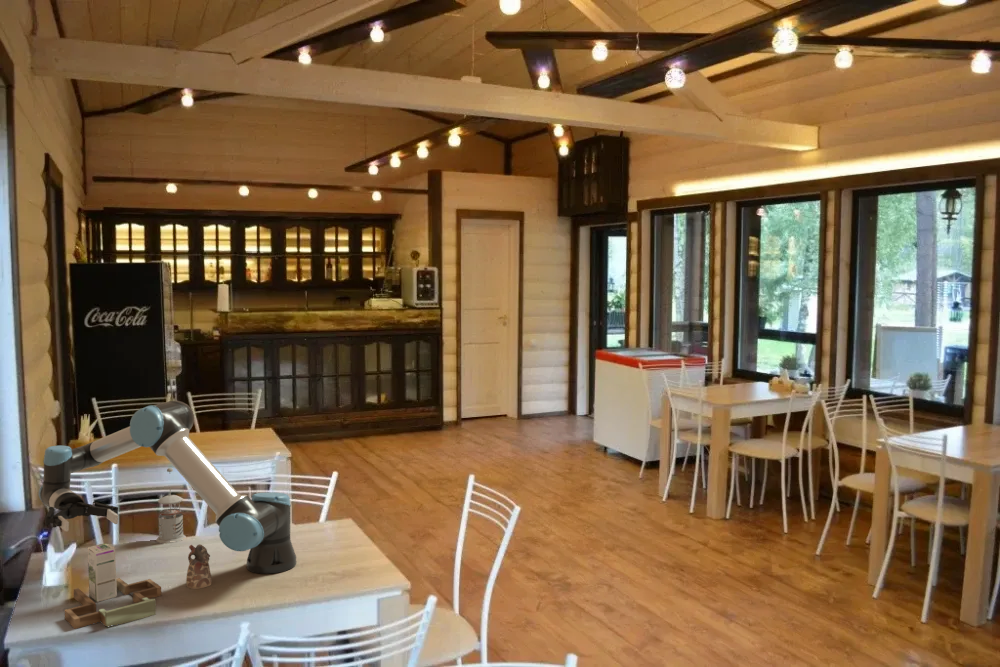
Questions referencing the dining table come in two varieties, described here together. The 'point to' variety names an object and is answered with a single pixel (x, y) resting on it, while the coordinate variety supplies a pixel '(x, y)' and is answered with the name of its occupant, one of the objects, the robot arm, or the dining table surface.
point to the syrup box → (102, 572)
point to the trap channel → (121, 615)
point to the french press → (170, 519)
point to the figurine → (198, 568)
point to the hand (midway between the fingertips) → (92, 523)
